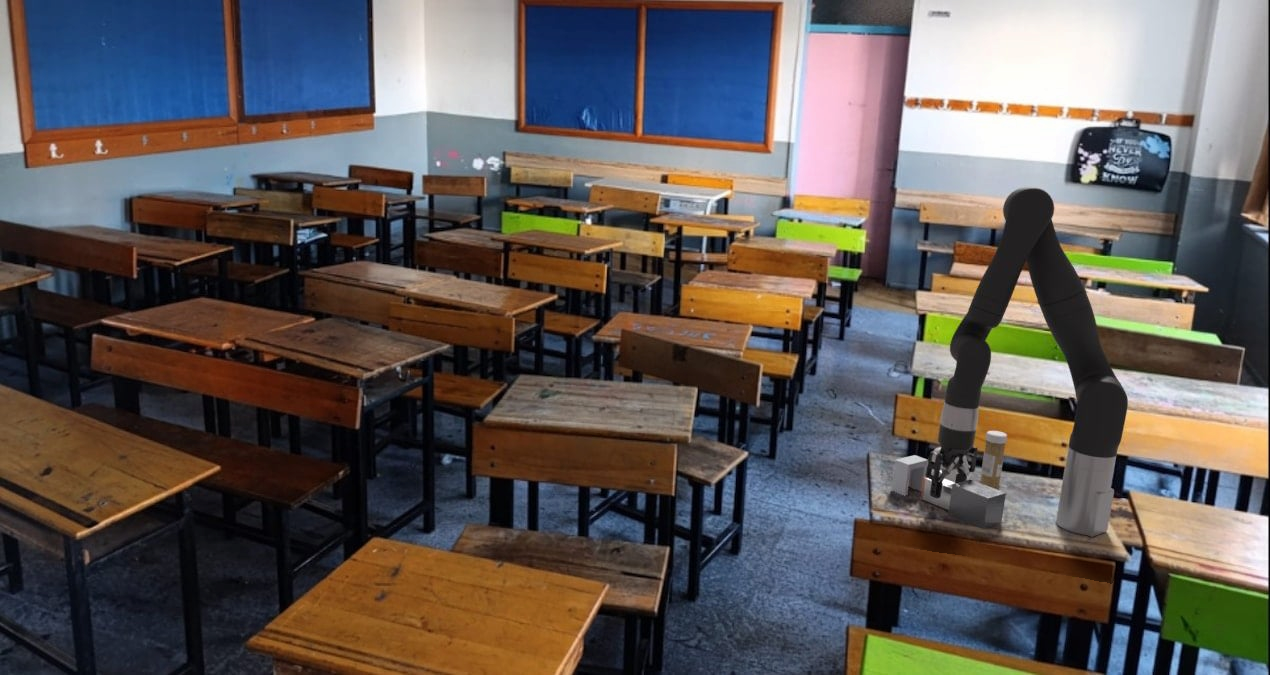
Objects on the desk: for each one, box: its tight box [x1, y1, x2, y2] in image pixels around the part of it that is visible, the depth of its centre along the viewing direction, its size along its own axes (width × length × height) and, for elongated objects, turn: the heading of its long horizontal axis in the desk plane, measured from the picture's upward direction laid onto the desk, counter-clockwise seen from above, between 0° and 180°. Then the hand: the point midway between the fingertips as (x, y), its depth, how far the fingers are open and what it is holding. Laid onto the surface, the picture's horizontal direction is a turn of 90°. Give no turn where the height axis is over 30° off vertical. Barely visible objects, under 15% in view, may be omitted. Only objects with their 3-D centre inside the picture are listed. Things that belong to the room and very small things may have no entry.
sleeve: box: [947, 479, 1007, 530], centre depth 204 cm, size 9×6×7 cm
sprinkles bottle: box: [979, 430, 1008, 490], centre depth 223 cm, size 5×5×14 cm
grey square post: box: [920, 477, 956, 511], centre depth 208 cm, size 16×4×5 cm, turn 36°
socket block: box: [891, 454, 929, 497], centre depth 218 cm, size 4×7×8 cm, turn 126°
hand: (947, 494), depth 210 cm, fingers open, 8 cm apart
